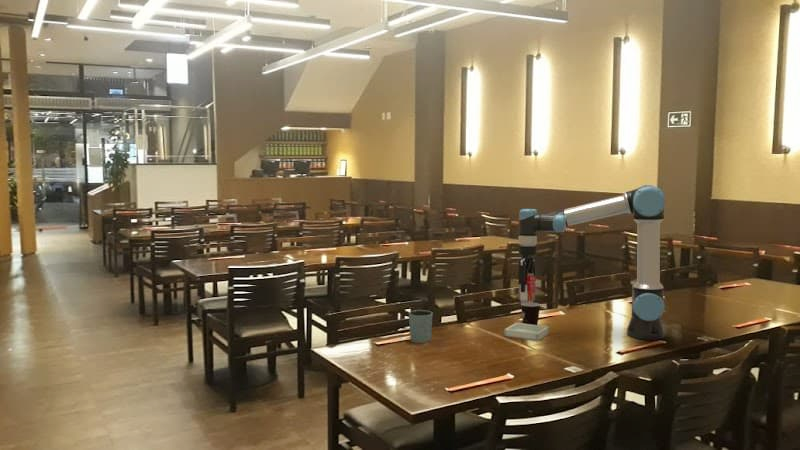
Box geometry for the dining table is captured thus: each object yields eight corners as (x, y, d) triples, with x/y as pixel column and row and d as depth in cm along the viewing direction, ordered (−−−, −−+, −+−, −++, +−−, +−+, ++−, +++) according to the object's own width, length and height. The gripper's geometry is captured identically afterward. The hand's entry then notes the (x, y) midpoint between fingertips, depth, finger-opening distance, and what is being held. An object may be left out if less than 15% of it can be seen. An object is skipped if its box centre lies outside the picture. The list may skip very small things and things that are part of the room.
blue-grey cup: (420, 335, 281) (420, 308, 280) (437, 340, 274) (437, 312, 273) (403, 340, 274) (403, 312, 273) (421, 345, 267) (421, 316, 266)
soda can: (516, 299, 283) (517, 272, 282) (532, 299, 284) (532, 272, 282) (521, 303, 276) (521, 275, 275) (537, 302, 277) (537, 275, 275)
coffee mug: (539, 328, 292) (540, 306, 291) (520, 327, 293) (520, 306, 292) (539, 322, 303) (539, 301, 302) (520, 321, 305) (521, 300, 304)
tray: (549, 333, 283) (549, 326, 283) (537, 341, 271) (537, 334, 271) (516, 329, 291) (516, 322, 291) (504, 336, 279) (504, 329, 279)
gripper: (528, 242, 288) (527, 293, 290) (510, 247, 271) (509, 301, 273) (544, 243, 284) (543, 294, 286) (527, 248, 267) (526, 303, 269)
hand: (526, 297), depth 280 cm, fingers closed on soda can, 7 cm apart
